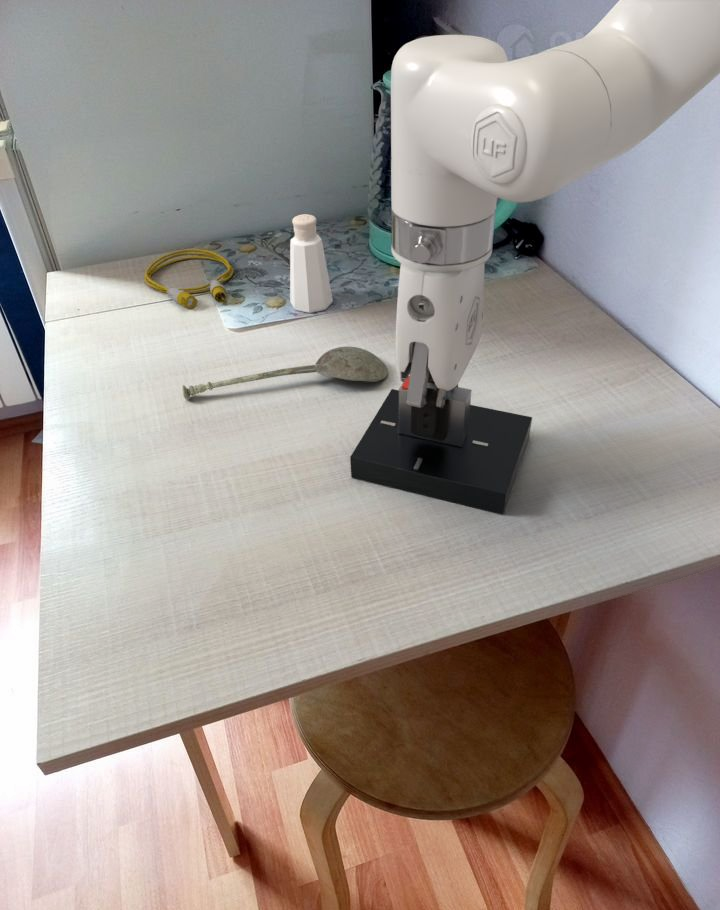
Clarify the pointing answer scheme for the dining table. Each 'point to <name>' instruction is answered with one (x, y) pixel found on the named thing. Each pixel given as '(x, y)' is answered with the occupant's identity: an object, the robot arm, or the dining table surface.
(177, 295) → the extension cord
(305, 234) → the pepper shaker
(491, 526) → the dining table surface
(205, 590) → the dining table surface
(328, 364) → the soupspoon
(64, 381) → the dining table surface
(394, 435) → the plate
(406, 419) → the tap handle
